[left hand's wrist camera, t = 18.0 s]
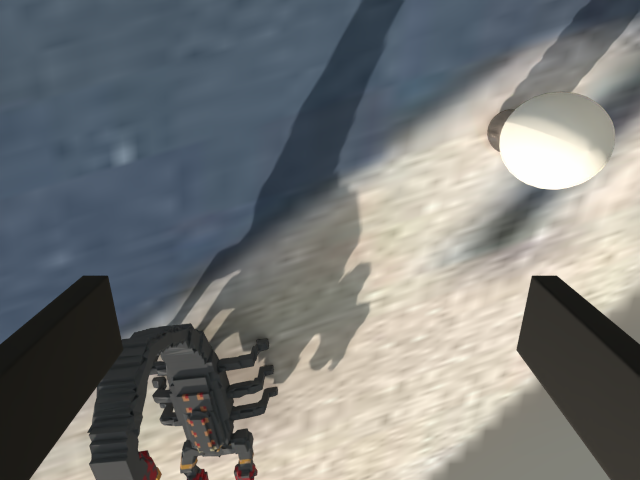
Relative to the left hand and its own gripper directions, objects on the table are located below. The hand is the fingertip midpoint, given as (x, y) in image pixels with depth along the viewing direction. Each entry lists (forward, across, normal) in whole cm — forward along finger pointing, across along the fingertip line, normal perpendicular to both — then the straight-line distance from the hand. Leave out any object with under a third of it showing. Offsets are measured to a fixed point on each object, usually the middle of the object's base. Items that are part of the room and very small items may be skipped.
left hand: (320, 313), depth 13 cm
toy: (+26, +12, +25) cm, 38 cm away
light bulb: (+26, -17, -3) cm, 31 cm away
